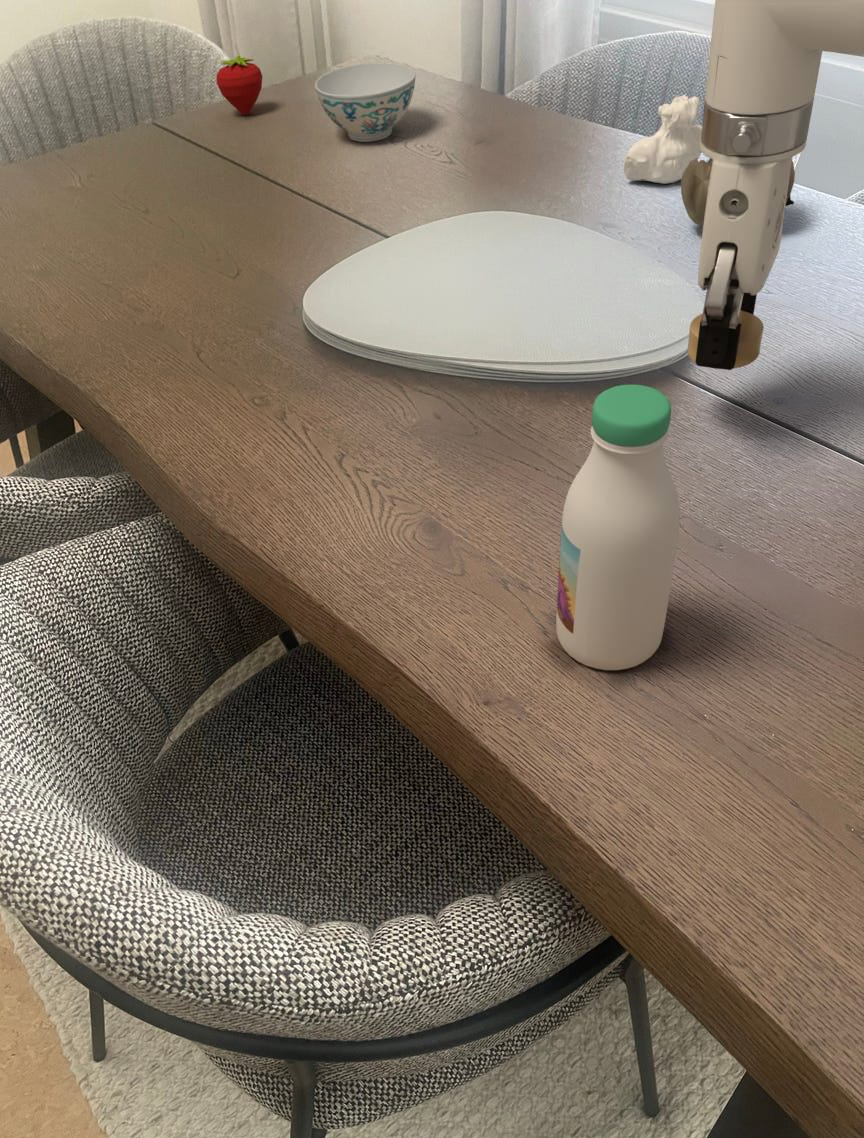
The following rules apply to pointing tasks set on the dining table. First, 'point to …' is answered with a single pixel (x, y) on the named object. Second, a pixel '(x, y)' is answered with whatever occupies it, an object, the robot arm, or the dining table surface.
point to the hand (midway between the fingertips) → (723, 344)
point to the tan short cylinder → (747, 339)
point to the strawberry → (240, 83)
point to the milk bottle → (619, 535)
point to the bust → (667, 144)
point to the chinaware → (367, 98)
